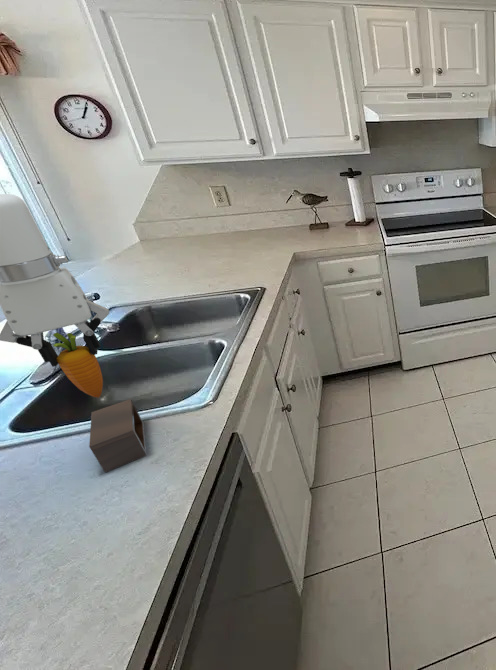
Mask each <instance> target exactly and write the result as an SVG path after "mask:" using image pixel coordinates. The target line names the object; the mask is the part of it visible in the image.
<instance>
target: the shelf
mask: <svg viewBox="0 0 496 670" xmlns="http://www.w3.org/2000/svg"><path fill="white" fill-rule="evenodd" d="M146 444H147V443H146V434H145V424H144V421H143V418H142V417H141V415H140V413H139V411H138V409H137V407H136V405H135V403H134V402H133V399H132V398H129V399H126V400H123V401H120V402H117V403H114V404H111V405H109V406H106V407H103V408H100V409H97V410H94V411H91V416H90V431H89V443H88V447H89V449H90V451H91V452H92V454H93V456H94V457H95V459H96V461H97V462H98V464H99V465H100V467H101V469H102V470H103V472H104V474H105V473H108V472H110V471H113V470H115V469H118V468H121V467H122V466H125V465H127V464H130V463H132V462H134V461H137V460H139V459H142V458H145V457H146V456H147V445H146Z"/></svg>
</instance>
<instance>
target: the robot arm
mask: <svg viewBox="0 0 496 670" xmlns="http://www.w3.org/2000/svg"><path fill="white" fill-rule="evenodd" d="M65 263H69V260H68V258H67V256H66V255H65V254H62V255H58V254H57V255H56V254H54V253H53V251H51V249H50V248H49V246H48V244H47V242H46V240H45V238H44V236H43V234H42V232H41V230H40V228H39V226H38V224H37V223H36V221H35V219H34V216H33V215H32V213H31V211H30V209H29V207H28V206H27V204H26V203H25V201H24V199H22V197H20V196H18V195H16V194H10V193H0V309H1V311H2V313H3V315H4V317H5V320H6V322H5V324H4V325H3V328H2V330H1V331H0V342H6V343H12V344H14V343H15V344H18V345H20V346H25V347H29V348H32V349H33V350H36V351H37V352H38V353H39V355H40V356H41V358H42V359H43V361H44V362H45V363H49V364H50V366H51V367H52V368H53V367H57V366H59V364H58V362H57V357H58V355H59V354H57V352H56V350H55V349H54V346H53V344H52V343H51V342H50V341H48V340H46V339H45V336H44V333H45V332H51V331H53V330H57V329H62V328H66V327H70V326H75V327H76V328H77V329H78V330H80V331H81V332H82V334H83V337H82V339H83V342H84V344H85V346H87V347H88V349H89V350H90V352H91V354H92V355H95V356H96V355H98V349H99V348H101V342H100V341H99V339H98V337H97V335H96V334H95V331H96V330H97V329H98V327H99V326H100V324H101V323H102V322H103V321H104V320H105V319H106V318H107V317H108V316H109V314H110V309H109V308H107V307H105V306H103V305H100V304H98V303H96V302H93V301H91V300H89V299H88V297H87V295H86V294H85V292H84V290H83V289H82V287H81V285H80V284H79V282H78V281H77V279H76V278H75V277H74V275H73V274H72V273H71V272H70V271H69V269H68V268H67V267H65V266H61V265H63V264H65ZM60 266H61V267H60ZM92 312H93V313H95V315H94V316H93V317H92ZM89 320H90V321H89Z"/></svg>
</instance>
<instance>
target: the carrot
mask: <svg viewBox="0 0 496 670" xmlns="http://www.w3.org/2000/svg"><path fill="white" fill-rule="evenodd" d="M52 336H53V337H54V338H56V339H57V340H59V341H61V342H57V343H54V344H53V347H55V348H63V349H64V350H62V351H60V352H59V354H57V355H58V357H57V362H58V366H59V367H60V369H61V370H62V372H63V373H64V374H65V376H66V378H67V379H68V380H69V381H70V382H71V383H72V384H73V385H74V386H75V387H76V388H77V389H78V390H79V391H81V392H83V393H84V394H86V395H88V396H90V397H93V398H100V397H101V396H102V392H103V385H104V378H103V374H102V370H101V366H100V363H99V361H98V359H97V357H96V355H92V354H91V352H90V350H89V349H88V347H87V345H77V343H76V338H77V336H76V335H74V334H73V333H72V332H67V333H66V336H67V338H66V337H65V335H63V334H61V333H59V332H54V333H53V335H52Z"/></svg>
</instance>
